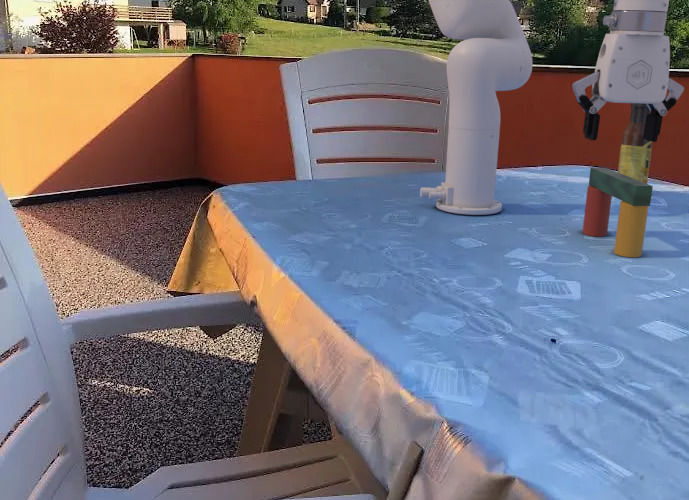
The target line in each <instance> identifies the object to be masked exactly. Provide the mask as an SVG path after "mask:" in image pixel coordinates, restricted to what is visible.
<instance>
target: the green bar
mask: <svg viewBox="0 0 689 500" xmlns="http://www.w3.org/2000/svg"><path fill="white" fill-rule="evenodd" d="M588 186H592V187H594V188H596V189H598V190H600V191H603V192H605V193H607V194H609V195H611V196H612V198H615V199H618V200H620V201H624V202H626V203H628V204H630V205H633V206H649V207H650V206H651V202H652V201H651V200H652V194H653V187H654V186H653V185H651V184H648V183H647V184H646V183H644V182H641V181H638V180H636V179H633V178H631V177H628V176H626V175H623V174H620V173H618V171H615V170H613V169H610V168H607V167H590V170H589V179H588Z"/></svg>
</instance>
